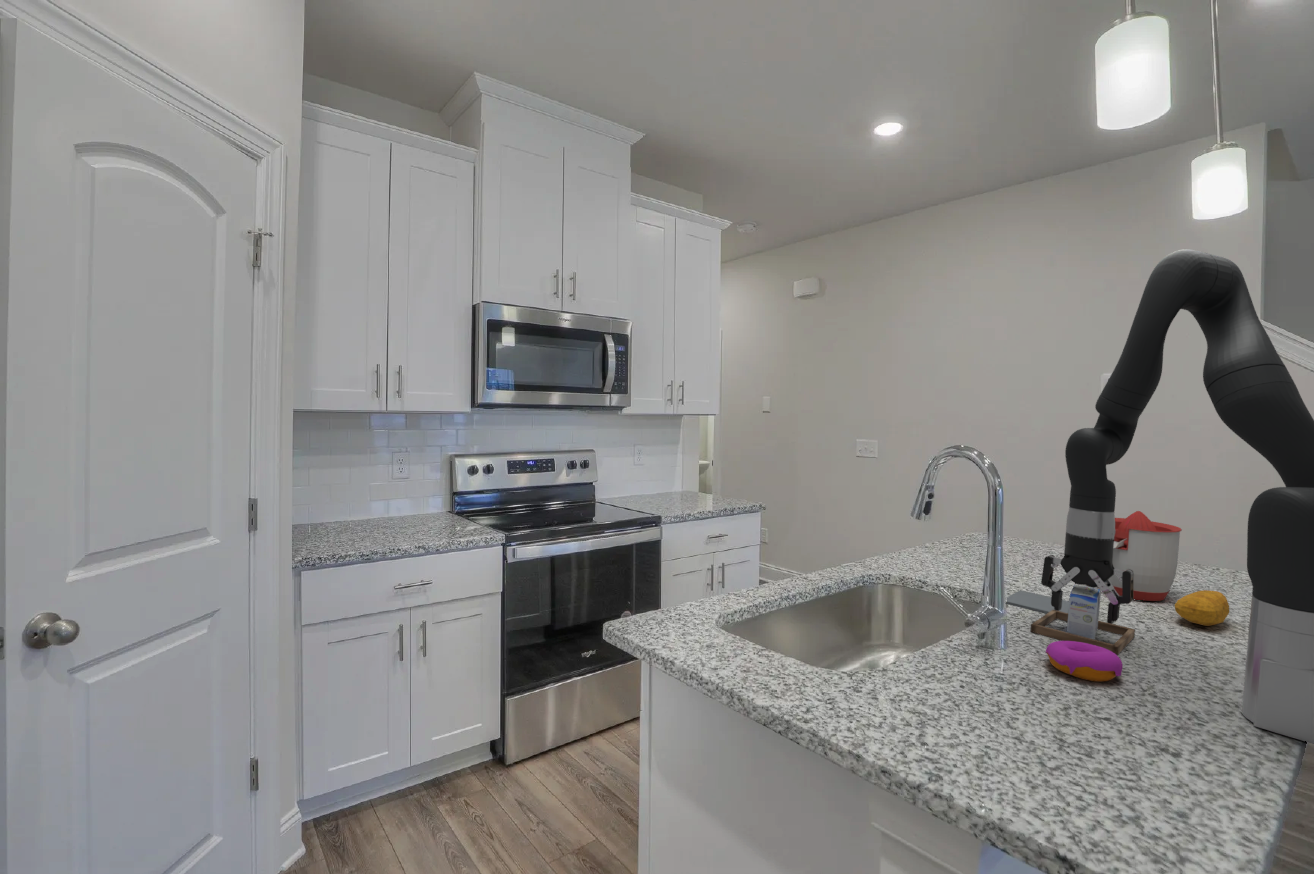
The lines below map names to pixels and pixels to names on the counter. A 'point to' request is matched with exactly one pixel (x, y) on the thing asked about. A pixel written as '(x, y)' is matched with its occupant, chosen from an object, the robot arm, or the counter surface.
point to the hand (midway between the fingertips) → (1083, 615)
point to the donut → (1084, 660)
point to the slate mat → (1034, 602)
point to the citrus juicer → (1146, 555)
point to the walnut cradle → (1064, 636)
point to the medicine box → (1083, 611)
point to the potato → (1203, 607)
